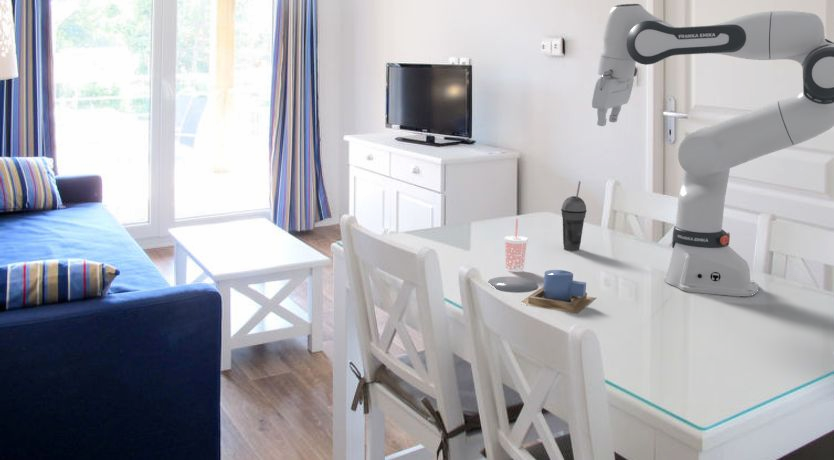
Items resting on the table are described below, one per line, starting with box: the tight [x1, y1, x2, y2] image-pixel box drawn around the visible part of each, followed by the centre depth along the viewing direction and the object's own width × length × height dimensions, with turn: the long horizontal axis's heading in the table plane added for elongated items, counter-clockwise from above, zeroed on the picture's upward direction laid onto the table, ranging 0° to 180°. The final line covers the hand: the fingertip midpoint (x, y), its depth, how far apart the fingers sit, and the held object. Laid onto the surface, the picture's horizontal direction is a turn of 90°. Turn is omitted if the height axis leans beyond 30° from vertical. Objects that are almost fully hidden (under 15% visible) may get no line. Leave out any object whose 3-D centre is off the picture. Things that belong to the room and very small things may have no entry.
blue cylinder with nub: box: [543, 269, 587, 302], centre depth 203 cm, size 10×6×6 cm
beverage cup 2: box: [560, 180, 588, 252], centre depth 255 cm, size 7×7×20 cm
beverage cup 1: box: [503, 218, 529, 273], centre depth 230 cm, size 6×6×14 cm
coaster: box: [487, 276, 538, 293], centre depth 217 cm, size 12×12×1 cm
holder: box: [520, 286, 597, 315], centre depth 205 cm, size 14×14×2 cm
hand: (607, 123), depth 226 cm, fingers open, 8 cm apart
